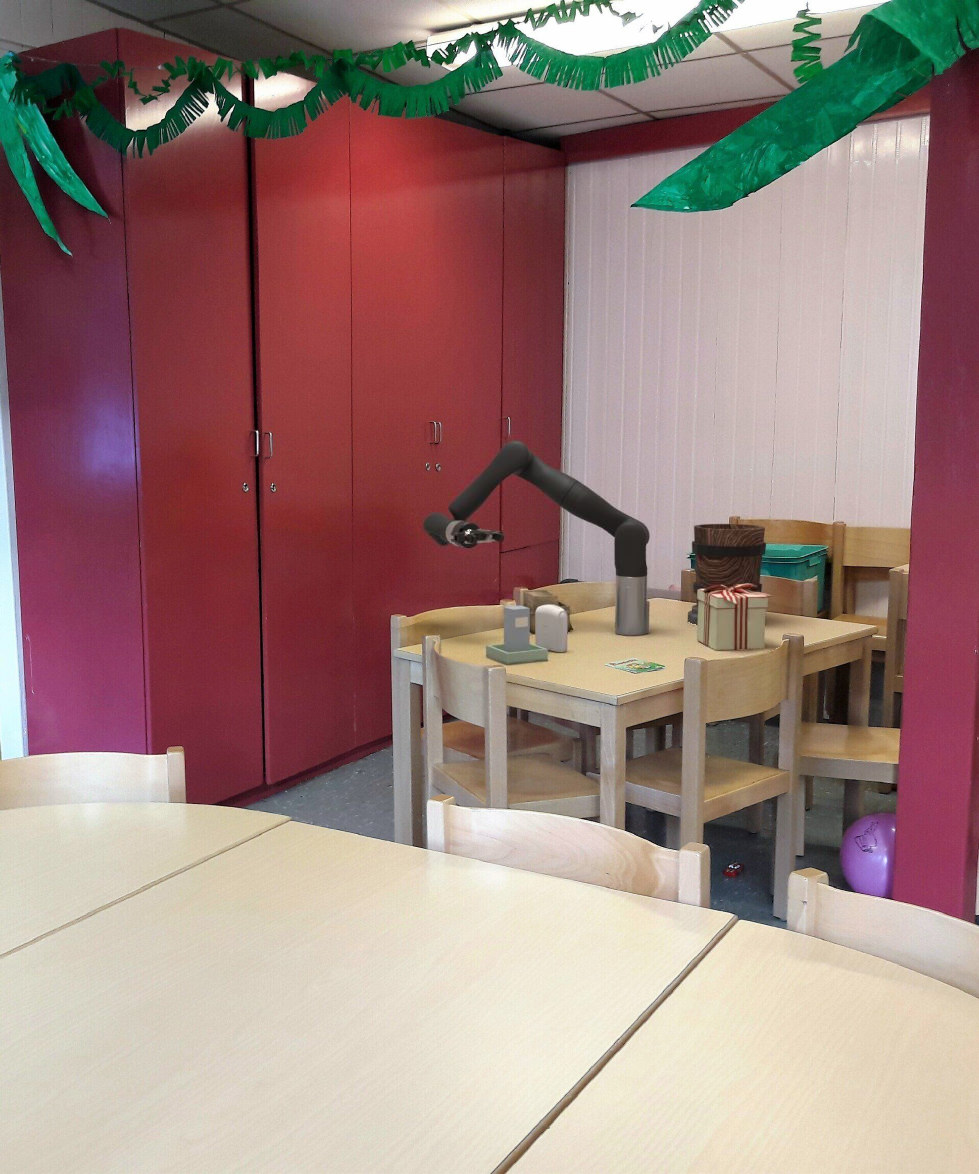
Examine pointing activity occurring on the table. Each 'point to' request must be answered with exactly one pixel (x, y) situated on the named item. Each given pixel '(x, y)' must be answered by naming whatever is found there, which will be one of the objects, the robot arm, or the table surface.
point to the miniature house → (543, 598)
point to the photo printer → (551, 628)
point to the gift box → (732, 617)
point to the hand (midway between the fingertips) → (488, 538)
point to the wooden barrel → (726, 557)
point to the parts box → (516, 629)
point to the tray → (516, 654)
